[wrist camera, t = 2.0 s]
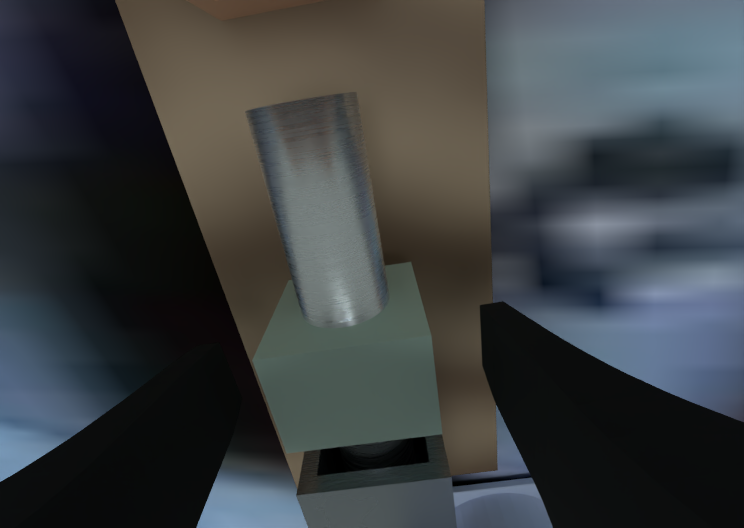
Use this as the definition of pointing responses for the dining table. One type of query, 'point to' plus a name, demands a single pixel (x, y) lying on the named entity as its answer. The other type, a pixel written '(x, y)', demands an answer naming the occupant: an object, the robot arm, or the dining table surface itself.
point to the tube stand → (389, 184)
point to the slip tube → (339, 297)
